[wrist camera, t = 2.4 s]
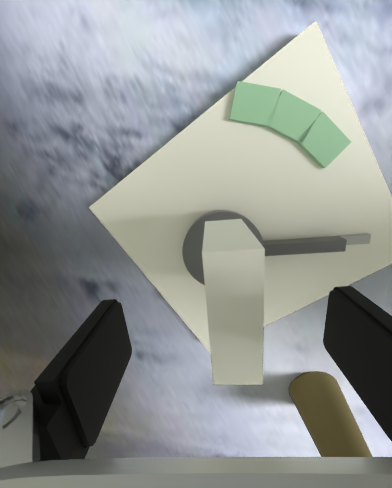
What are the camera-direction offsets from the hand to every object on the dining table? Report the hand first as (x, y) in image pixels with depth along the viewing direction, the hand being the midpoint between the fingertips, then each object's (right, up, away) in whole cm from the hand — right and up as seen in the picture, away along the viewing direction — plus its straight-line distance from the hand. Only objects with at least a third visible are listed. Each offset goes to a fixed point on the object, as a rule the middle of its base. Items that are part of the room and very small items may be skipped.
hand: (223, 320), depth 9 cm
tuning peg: (+4, +3, +9) cm, 11 cm away
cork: (+14, -15, +17) cm, 26 cm away
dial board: (+4, +5, +11) cm, 12 cm away
